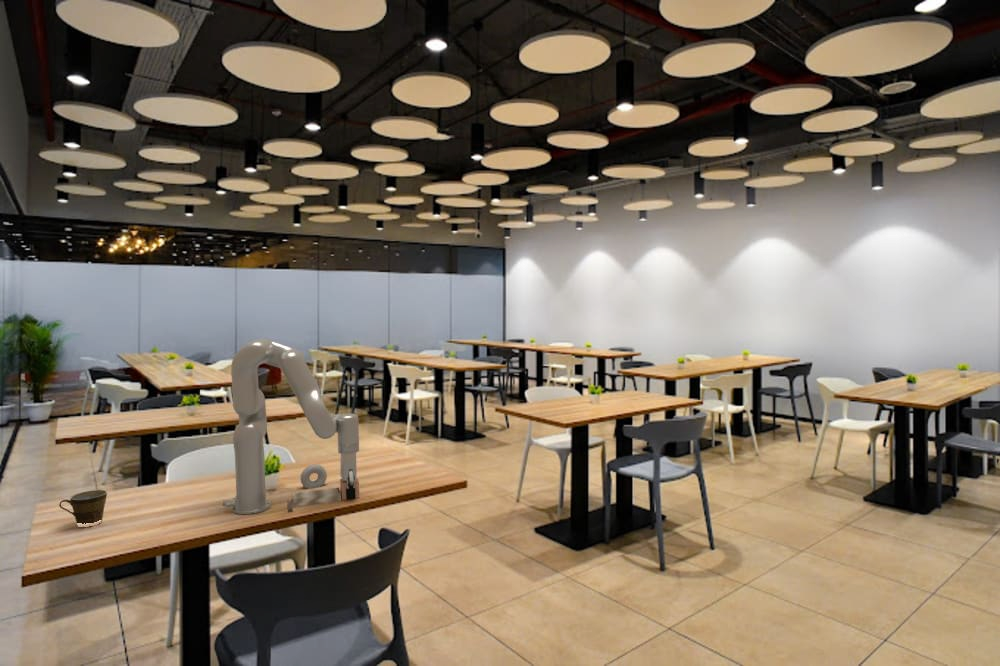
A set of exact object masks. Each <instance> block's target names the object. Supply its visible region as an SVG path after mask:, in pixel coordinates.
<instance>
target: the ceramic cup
mask: <svg viewBox="0 0 1000 666" xmlns="http://www.w3.org/2000/svg"><path fill="white" fill-rule="evenodd" d="M107 496H108V492H107V490H103V489H102V490H101V489H97V490H96V489H95V490H88V491H86V490H85V491H82V492H78V493H76V494H73V495H71V496H70V497H69V499H68V498H67V499H62V500H61V501H60V502H59V505H58V506H59V508H60V509H61V510H64V511H66V512H68V513H69V514H71V515H72V516H73V517H74V518H75V522H76V524H77V523H82V524H84V523H85V524H86V523H94V522H97V521H99V520H102V521H103V519H104V518H103V517H104V511H105V505H106V501H107ZM64 502H65V503H69V504H70V506H71V508H72V511H73V512H72V511H70V510H69V509H68V508H65V507H63V506H62V503H64ZM102 518H103V519H102Z"/></svg>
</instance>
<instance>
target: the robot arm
mask: <svg viewBox="0 0 1000 666" xmlns="http://www.w3.org/2000/svg"><path fill="white" fill-rule="evenodd" d="M263 364H266V365H269V366H272V367H276V368H278V369H280V371H281V373H282V374H283V376H284V378H285V379H286V381H287V383H288V384H289V386H290V388H291V389H292V390H291V391H292V392H293V393H294V395H295V397H296V399H297V402H298V404H299V405H300V407H301V409H302V411H303V414H304V416H305V418H306V419H307V422H308V423H309V426H310V427H311V428H312V430H313V432H314V433H315V435H316V436H317V437H318V438H320V439H323V440H327V439H331V438H332V437H333V436H334V435H335V434H337V453H338V454H339V455H340V470H339V471H340V479H342V480H343V481H345V480H346V482H347V488H346V500H355V499H357V498H356V497H355V481H354V480H355V479H356V477H357V466H358V465H357V453H358V452H360V435H359V434H360V431H359V429H360V428H359V417H358V416H359V415H358V414H355V413H342V414H339V413H338V414H337V413H336V414H335V413H330V412H329V410H328V409H327V407H326V404H325V403H324V399H323V397H322V393H321V389H320V387H319V384H318V382H317V380H316V378H315V377H314V375H313V373H312V371H311V370H310V368H309V366H308V364H307V362H306V357H305V354H304V353H303V352H302V351H300V350H299V349H295V348H293V347H290V346H287V345H284V344H282V343H278V342H274V341H272V340H269V339H265V338H260V339H256V340H252V341H251V342H250V341H249V343H246V344H245V345H243V346H242V347H241V348H239V349H238V350H237V352H235V354H234V356H233V359H232V362H231V369H230V370H231V374H230V375H231V390H232V406H233V410H234V412H235V413H236V415H238V424H237V426H236V427H235V429H234V431H233V434H232V442H233V443H232V444H233V450H234V467H235V492H236V493H235V494H236V495H235V497H233V498H232V499H224V500H222V507H224V506H225V507H226V508H229V507H231V512H232V511H233V512H234V514H235V513H237V514H236V515H241V514H246V515H252V514H251V513H254V514H258V512H259V513H261V512H265V511H268V510H269V509H270V508H271V504H272V503H271V501H269V500H267V496H266V493H267V492H266V490H267V489H266V463H265V450H264V449H265V448H264V437H265V436H266V434H267V431H268V418H267V409H266V408H267V407H266V398H265V395H264V392H263V391H262V390H261V389H260V388H259V375H258V368H259V366H260V365H263ZM348 478H349V479H350V480H348ZM348 482H349V483H348ZM233 512H232V513H233Z"/></svg>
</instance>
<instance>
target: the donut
mask: <svg viewBox="0 0 1000 666" xmlns="http://www.w3.org/2000/svg"><path fill="white" fill-rule="evenodd" d="M314 474H316V475H317V478H316V480H311V479H310V477H311V475H314ZM327 476H328V474H327V471H326V469H325V467H323V466H322V465H320V464H317V463H316V464H310V465H308V466H306V467H305V468H304V469H303V470H302V472H301V473H300V482H301V485H302V486H303V488H305V489H314V488H320V487H323V486H324V485H325V483H326V482H327Z"/></svg>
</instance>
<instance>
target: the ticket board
mask: <svg viewBox="0 0 1000 666" xmlns="http://www.w3.org/2000/svg"><path fill="white" fill-rule="evenodd" d="M292 495H293V496H292V499H293V500H292V499H290V500H287V501H286V502H287V512H288V513H293V512H294V509H293V508H295V507H303V506H308V505H309V506H310V505H311V506H312V505H317V504H326V503H332V502H333V503H334V502H341V501H342V498H341V492H340V487H334V488H333V487H332V488H324V489H317V490H309V491H302V492H293V494H292Z"/></svg>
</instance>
